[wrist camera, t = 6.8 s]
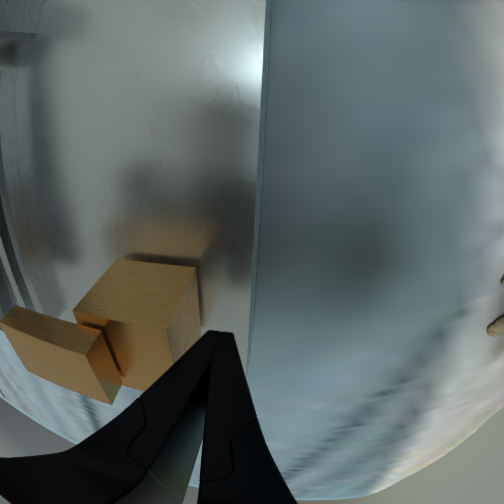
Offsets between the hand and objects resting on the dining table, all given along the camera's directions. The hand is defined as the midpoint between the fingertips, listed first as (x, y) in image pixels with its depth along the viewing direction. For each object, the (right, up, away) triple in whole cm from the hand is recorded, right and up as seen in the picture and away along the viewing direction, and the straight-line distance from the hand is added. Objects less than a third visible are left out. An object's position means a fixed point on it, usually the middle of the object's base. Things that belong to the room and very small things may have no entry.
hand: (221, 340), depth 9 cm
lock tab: (-4, +1, +1) cm, 4 cm away
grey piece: (-7, +7, +3) cm, 10 cm away
